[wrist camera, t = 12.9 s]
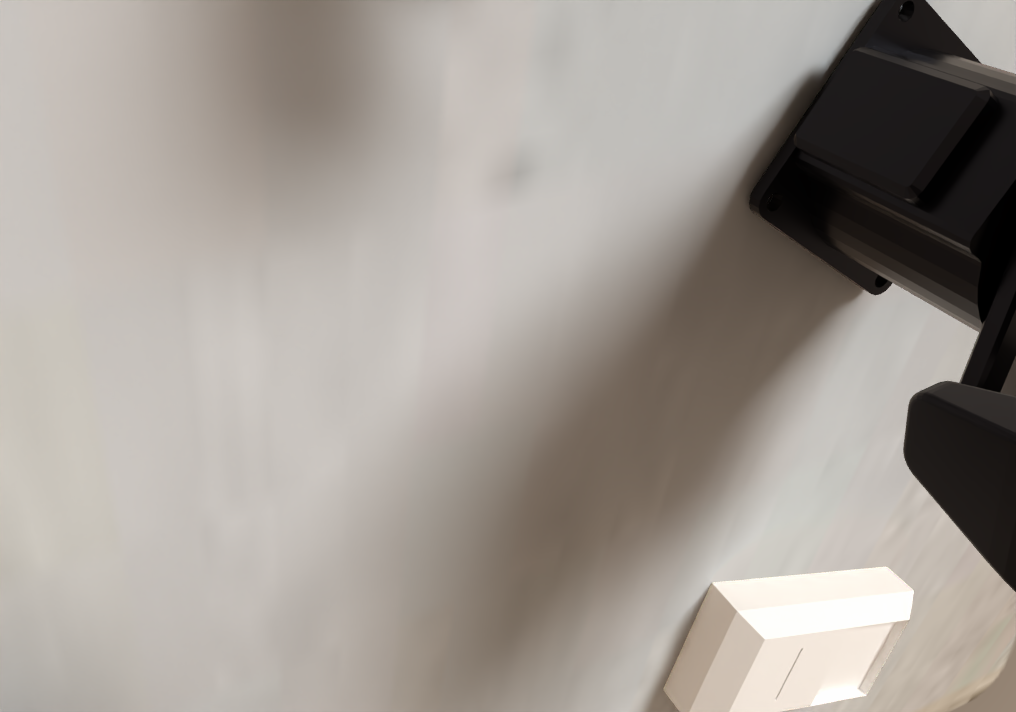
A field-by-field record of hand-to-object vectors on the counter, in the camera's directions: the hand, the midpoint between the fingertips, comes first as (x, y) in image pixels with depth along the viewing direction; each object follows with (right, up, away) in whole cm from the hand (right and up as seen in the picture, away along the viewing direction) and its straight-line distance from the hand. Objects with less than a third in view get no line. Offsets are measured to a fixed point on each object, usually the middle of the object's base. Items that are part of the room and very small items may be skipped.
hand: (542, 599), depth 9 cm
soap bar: (+10, -8, +28) cm, 30 cm away
